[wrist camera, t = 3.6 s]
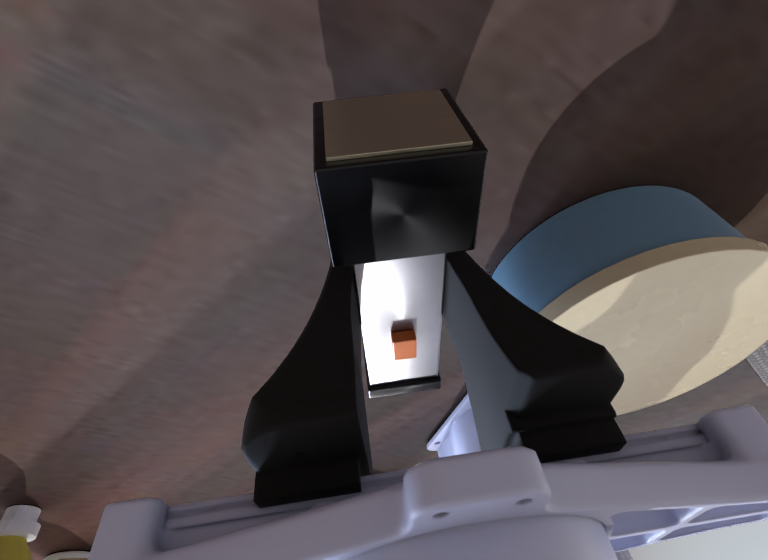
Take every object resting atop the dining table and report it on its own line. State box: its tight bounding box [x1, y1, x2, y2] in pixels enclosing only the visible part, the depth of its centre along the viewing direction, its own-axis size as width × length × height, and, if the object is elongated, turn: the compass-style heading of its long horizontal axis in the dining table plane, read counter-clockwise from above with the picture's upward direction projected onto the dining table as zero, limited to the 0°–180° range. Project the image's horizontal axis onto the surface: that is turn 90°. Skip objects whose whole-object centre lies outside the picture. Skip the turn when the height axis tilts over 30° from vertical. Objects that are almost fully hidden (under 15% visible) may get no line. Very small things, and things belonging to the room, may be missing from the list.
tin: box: [491, 186, 768, 415], centre depth 21 cm, size 13×13×5 cm
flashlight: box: [313, 89, 488, 398], centre depth 15 cm, size 12×4×4 cm, turn 3°
